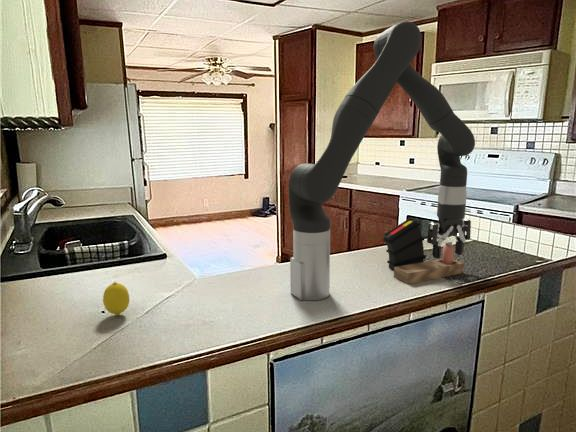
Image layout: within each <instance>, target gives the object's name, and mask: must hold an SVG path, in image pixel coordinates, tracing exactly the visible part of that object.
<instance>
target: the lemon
mask: <svg viewBox="0 0 576 432" xmlns="http://www.w3.org/2000/svg"><path fill="white" fill-rule="evenodd" d="M102 300H103V301H102V303H103V306H104V308H105V310H106V311H107V312H108V313H110V314H112V315H114V316H115V315H116V316H120V314H121V313H123V312H125V311H126V310H127V308H128V306H129V305H130V294H129V291H128V289H127V287H126V285H124V284H122V283H118V282H117V281H114V282H112V283H111V284H110V285H108V286H107V287H106V288H105V289H104V292H103V297H102Z"/></svg>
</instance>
